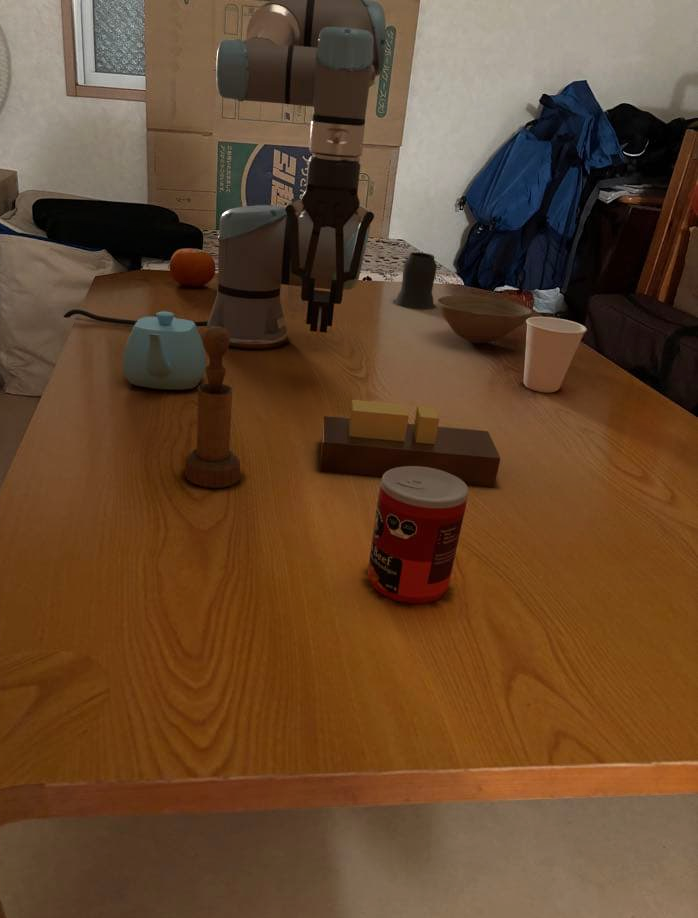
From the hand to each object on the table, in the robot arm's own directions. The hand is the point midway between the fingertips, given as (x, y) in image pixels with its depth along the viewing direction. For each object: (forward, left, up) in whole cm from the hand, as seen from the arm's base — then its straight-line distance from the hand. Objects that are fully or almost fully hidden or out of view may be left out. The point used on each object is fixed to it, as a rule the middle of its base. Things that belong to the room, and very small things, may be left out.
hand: (319, 322), depth 122 cm
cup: (+40, +10, -10) cm, 42 cm away
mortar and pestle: (-11, -39, -10) cm, 41 cm away
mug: (+23, +68, -10) cm, 72 cm away
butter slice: (+15, -29, -6) cm, 33 cm away
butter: (+8, -29, -6) cm, 31 cm away
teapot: (-23, -6, -10) cm, 26 cm away
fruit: (-30, +64, -10) cm, 72 cm away
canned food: (+11, -59, -10) cm, 60 cm away
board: (+13, -30, -10) cm, 34 cm away
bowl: (+33, +35, -10) cm, 49 cm away
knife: (0, -5, 0) cm, 5 cm away
